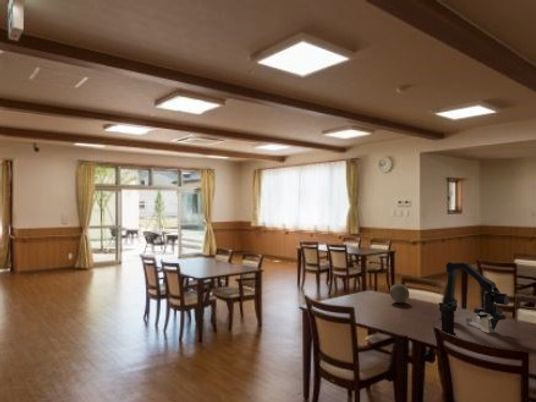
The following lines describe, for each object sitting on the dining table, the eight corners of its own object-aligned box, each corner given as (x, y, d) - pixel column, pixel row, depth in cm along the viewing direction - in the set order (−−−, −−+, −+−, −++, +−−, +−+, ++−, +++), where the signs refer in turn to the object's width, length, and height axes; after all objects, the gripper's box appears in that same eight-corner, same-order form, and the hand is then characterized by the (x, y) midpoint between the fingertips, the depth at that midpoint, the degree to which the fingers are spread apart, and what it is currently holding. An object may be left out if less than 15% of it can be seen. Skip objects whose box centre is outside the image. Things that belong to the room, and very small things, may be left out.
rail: (491, 333, 244) (491, 326, 244) (466, 323, 263) (466, 317, 263) (495, 333, 245) (495, 326, 245) (470, 323, 264) (470, 317, 264)
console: (482, 325, 261) (482, 318, 261) (476, 322, 266) (476, 316, 266) (488, 324, 262) (488, 318, 262) (482, 322, 267) (482, 316, 267)
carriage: (487, 332, 245) (488, 319, 245) (481, 330, 250) (481, 317, 250) (495, 332, 247) (495, 319, 247) (489, 329, 251) (489, 316, 251)
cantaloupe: (393, 300, 326) (393, 281, 326) (411, 302, 318) (411, 283, 318) (387, 303, 314) (387, 284, 314) (405, 306, 306) (405, 286, 306)
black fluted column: (437, 336, 239) (437, 302, 239) (450, 336, 239) (450, 302, 239) (444, 341, 231) (444, 306, 231) (458, 340, 231) (458, 305, 231)
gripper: (512, 304, 241) (512, 331, 241) (487, 297, 259) (487, 322, 259) (497, 306, 238) (498, 332, 238) (473, 299, 256) (473, 323, 256)
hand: (489, 327), depth 248 cm, fingers open, 6 cm apart
